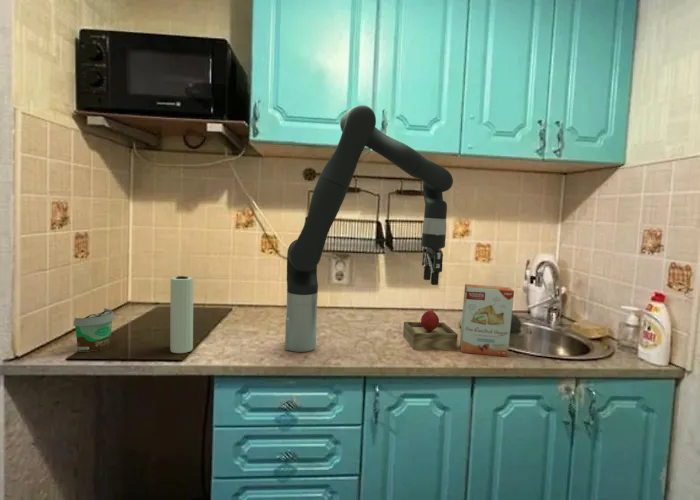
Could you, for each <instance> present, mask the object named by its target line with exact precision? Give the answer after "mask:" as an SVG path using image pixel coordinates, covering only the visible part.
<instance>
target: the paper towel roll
mask: <svg viewBox="0 0 700 500" xmlns="http://www.w3.org/2000/svg"><path fill="white" fill-rule="evenodd" d="M169 306H170V311H169V312H170V315H169V316H170V317H169V318H170V327H169V328H170V329H169V330H170V331H169V332H170V337H169V338H170V339H169V340H170V349H169V350H170V352H171V353H173V354H186V353H188V352H192V351H193V350H194V277H192V276H188V275H187V276H185V275H177V276H173V277H170V305H169Z"/></svg>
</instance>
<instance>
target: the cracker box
mask: <svg viewBox="0 0 700 500" xmlns="http://www.w3.org/2000/svg"><path fill="white" fill-rule="evenodd" d="M463 292H464V294H463V295H464V296H463V303H462V304H463V306H462V316H461V329H460V339H459V348H460V350H461V353H466V354H477V355H484V356H495V357H496V356H497V357H508V356H509V346H510V337H511V326H512V317H513V305H514V294H515V290H513V289H512V288H511V287H507V286H496V285H495V286H493V285H483V284H470V283H469V284H467V283H465V284H464V291H463Z"/></svg>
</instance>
